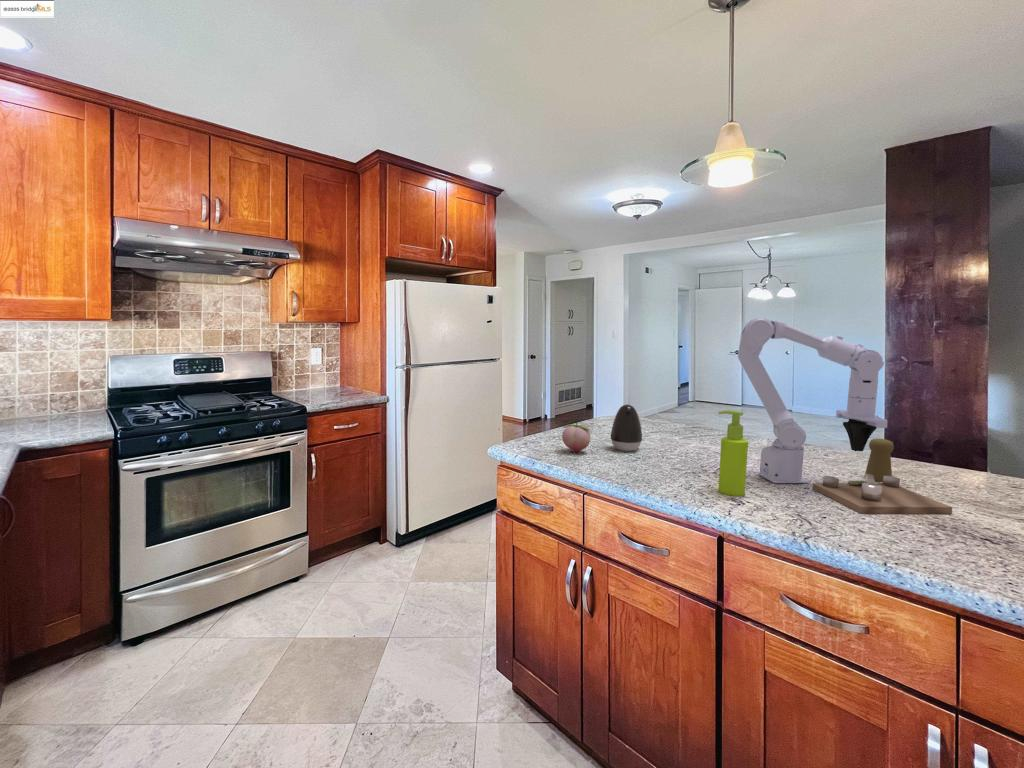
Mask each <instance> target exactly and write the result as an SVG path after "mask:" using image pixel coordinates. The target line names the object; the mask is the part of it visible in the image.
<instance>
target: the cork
mask: <svg viewBox="0 0 1024 768" xmlns="http://www.w3.org/2000/svg"><path fill="white" fill-rule="evenodd" d="M868 447H869V450H870V454H869V457H868V462H867V465H866V468H865V469H866V470H865V473H864V477H865V476H866V474H873V477H874V480H875V483H880V482H883V476H893V474H892V473H893V472H892V459H891V458H892V457H891V453H892V452H893V451H894V443H893V441H891V440H889V439H886V438H872V439H870V441H869V443H868ZM864 477H863V478H864Z"/></svg>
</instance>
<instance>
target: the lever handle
mask: <svg viewBox="0 0 1024 768" xmlns="http://www.w3.org/2000/svg"><path fill="white" fill-rule="evenodd" d="M864 476H865V475H864ZM864 481H865V483H862V491H861V497H862V498H864V499H868V500H873V501H880V500H881V494H882V486H881V485H878V484H875V483H876V482H875V480H874V477H873V474H866V476H865V478H864Z"/></svg>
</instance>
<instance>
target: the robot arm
mask: <svg viewBox="0 0 1024 768" xmlns="http://www.w3.org/2000/svg"><path fill="white" fill-rule="evenodd" d="M770 339H772V340H773V339H774V340H775V339H777V340H778V339H785V340H789V341H791V342H795V343H797V344H800V345H803V346H806V347H809V348H811V349H815V350H816V351H817V353H818V356H819V357H821V358H823V359H826V360H828V361H831V362H834V363H836V364H839V365H841V366H844V367H849V369H850V377H849V382H848V395H847V401H846V402H847V406H846V410H845V409H836V411H835V418H840V419H844V420H847V421H843V422H842V425H843V427H844V429H845V431H846V433H847V436H848V439H849V444H850V450H851V451H854V452H864V450H865V447H866V446H867V443H868V440H869V438H871V435H873V433H874V432H875V431H876V430H877V429H888V419H884V418H881V417H879V415H877V414H876V407H877V397H878V388H879V387H878V386H879V385H878V384H879V371H881V369H882V368H883V367H884V365H885V361H884V359H883V357H882V355H881V354H880V353H879V352H878V351H876V350H874V349H867V348H865V347H864V345H863V344H860V343H858V344H855V343H852V342H850V341H847V340H844V337H843V336H841V335H836V336H834V335H830V336H826V337H821V336H819V335H815V334H813V333H811V332H808V331H806V330H804V329H802V328H799V327H796V326H793V325H792V324H788V323H785V322H782V321H777V320H773V319H772V320H770V319H768V318H766V317H756V318H753V319H751V320H749V321H748V322H747V323H745V326H744V327H743V329H742V331H741V333H740V340H739V344H738V345H739V346H738V352H737V358H738V361H739V362H740V364H741V366H742V369H743V370H744V373H746V375H747V377H748V379H749V381H750V382H751V384H752V387H753V388H754V390H755V392H756V394H757V396H758V397H759V400H760V402H761V403H762V405H763V407H764V409H765V411H766V413H767V415H768V416H769V418H770V419H769V420H771V422H772V424H773V434H774V436H775V437H776V439H775V440H774V441H772V445H769V446H765V447H763V448H762V450H761V452H760V461H759V462H760V465H759V472H758V473H757V474H758V476H761V477H762V478H765V479H766V480H768V481H770V482H771V483H773V484H810V480H807V479H805V478H803V477H802V476H803V467H804V465H803V464H804V455H805V454H804V452H805V451H804V450H805V446H804V444H805V443H806V439H807V434H806V431H805V430H804V429H803V428H802V427H801V426H799V424H798V423H797V422H796V420H794V418H793V417H792V415H791V413H790V412H789V410H788V409H787V407H786V404H785V403H784V401H783V400H782V397H781V396H780V394H779V392H778V390H777V387H775V384H774V383H773V381H772V379H771V376H770V375H769V373H768V372H767V370H766V368H765V366H764V364H763V362H762V360H761V358H760V354H761V352H762V350H763V347H764V346H765V345H766V343H768V341H769V340H770Z"/></svg>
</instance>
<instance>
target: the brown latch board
mask: <svg viewBox="0 0 1024 768" xmlns="http://www.w3.org/2000/svg"><path fill="white" fill-rule="evenodd" d="M862 483H865V480H848V482H847V483H845V482H844V483H843V482H842V483H841V482H840V478H838V477H835V476H831V475H823V477H822V483H819V482H817V483H816V482H813V483H812V490H813V489H814V490H813V491H816V492H818V493H819V492H820V494H821V495H824V496H826V497H828V498H829V499H831V500H833V501H835V502H837V503H839V504H841V505H843V506H845V507H847V508H849V509H851V510H853V511H855V512H857V513H859V514H860V515H861V514H864V515H865V514H866V515H867V514H873V515H874V514H876V515H877V514H881V515H884V514H887V515H890V514H891V515H892V514H895V515H897V514H898V515H899V514H901V515H902V514H903V515H904V514H905V515H906V514H907V515H909V514H911V515H912V514H913V515H916V514H917V515H930V514H932V515H943V514H944V515H951V514H953V506H950V505H949V504H945V503H942V502H940V501H938V500H935V499H932V498H930V497H928V496H924V495H923V494H920V493H917V492H914V491H911V490H910V489H907V488H904V487H902V486H900V483H901V478H900V477H897V476H893V475H892V476H883V483H880V482H875V484H878V485H881V486H882V494H881V500H880V501H873V500H868V499H864V498H862V497H861V491H862Z"/></svg>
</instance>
